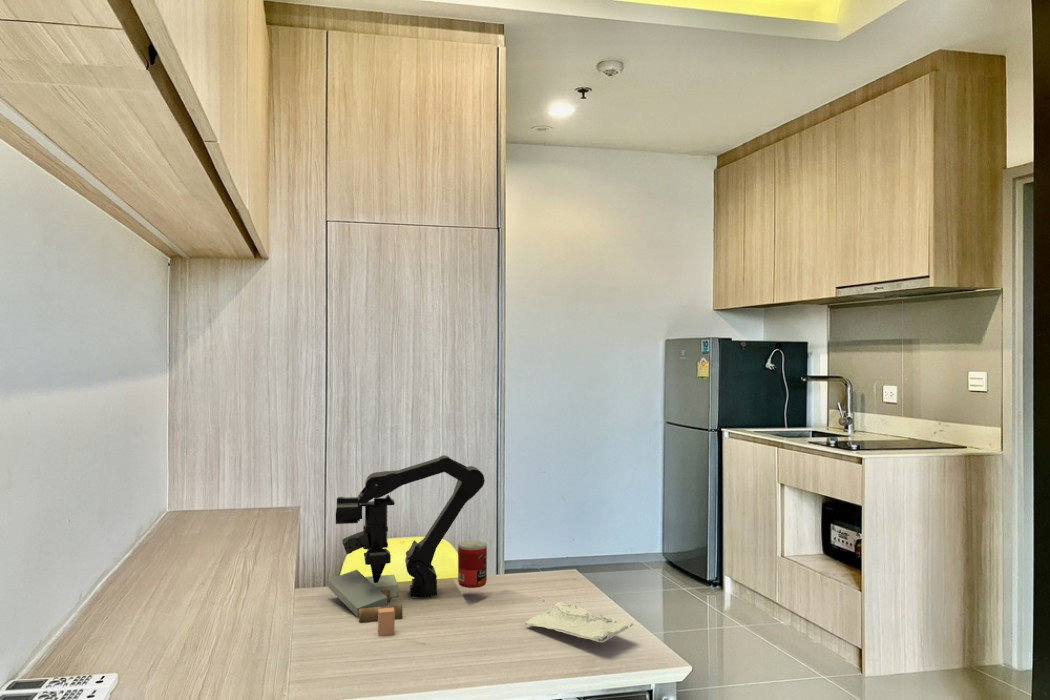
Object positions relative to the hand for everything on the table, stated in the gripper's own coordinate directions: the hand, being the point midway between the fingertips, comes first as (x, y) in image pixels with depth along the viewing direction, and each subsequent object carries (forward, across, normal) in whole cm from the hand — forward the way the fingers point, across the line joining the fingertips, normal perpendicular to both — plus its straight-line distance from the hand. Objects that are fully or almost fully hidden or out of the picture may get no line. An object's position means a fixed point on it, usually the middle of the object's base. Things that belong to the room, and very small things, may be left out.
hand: (375, 582), depth 184 cm
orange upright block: (+4, +25, +1) cm, 25 cm away
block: (+4, -4, 0) cm, 5 cm away
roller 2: (+4, +16, 0) cm, 17 cm away
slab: (+2, +5, -5) cm, 7 cm away
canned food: (+4, -5, +26) cm, 27 cm away
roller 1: (+2, +1, -2) cm, 3 cm away
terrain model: (+5, +31, +45) cm, 55 cm away
